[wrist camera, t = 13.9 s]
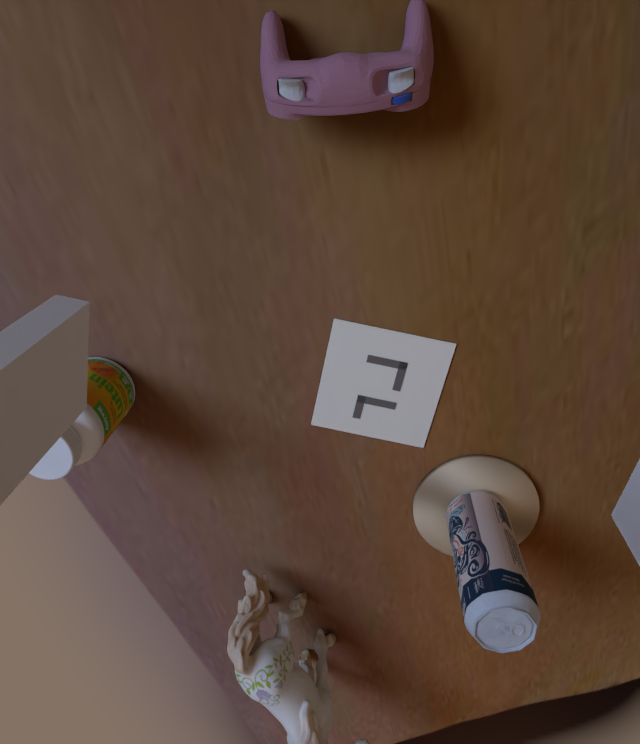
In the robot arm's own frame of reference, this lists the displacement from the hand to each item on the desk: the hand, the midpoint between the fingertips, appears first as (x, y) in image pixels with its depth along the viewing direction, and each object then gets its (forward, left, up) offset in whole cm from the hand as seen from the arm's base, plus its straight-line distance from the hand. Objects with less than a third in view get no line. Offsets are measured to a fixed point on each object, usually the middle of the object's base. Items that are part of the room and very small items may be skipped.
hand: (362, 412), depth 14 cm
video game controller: (-8, -3, -29) cm, 30 cm away
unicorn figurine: (+37, +5, -29) cm, 47 cm away
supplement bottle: (+18, -17, -29) cm, 38 cm away
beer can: (+22, +14, -28) cm, 38 cm away
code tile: (+13, +4, -29) cm, 32 cm away
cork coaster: (+22, +14, -29) cm, 39 cm away
